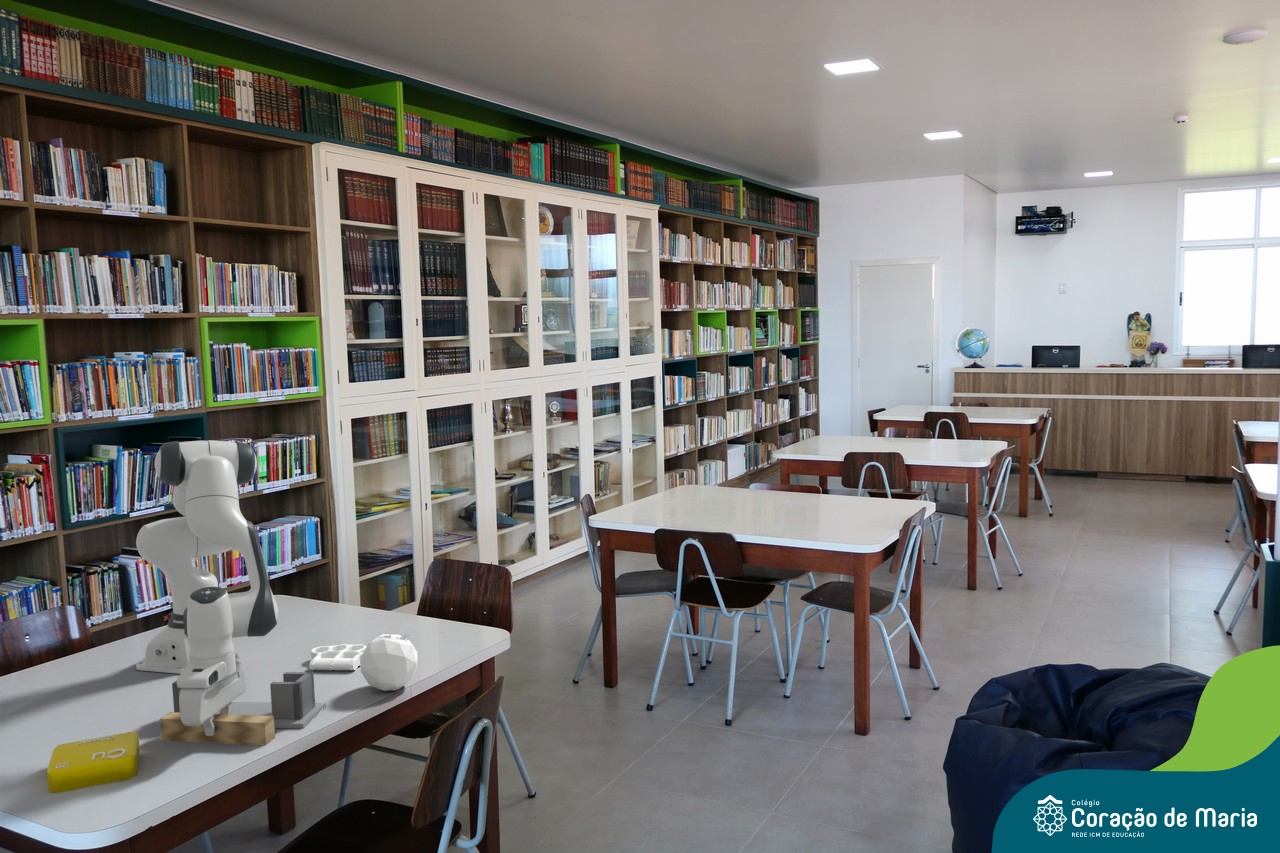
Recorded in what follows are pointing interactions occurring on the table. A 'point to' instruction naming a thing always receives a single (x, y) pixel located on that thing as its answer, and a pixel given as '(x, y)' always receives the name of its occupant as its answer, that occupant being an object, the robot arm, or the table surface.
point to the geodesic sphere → (389, 662)
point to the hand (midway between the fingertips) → (217, 729)
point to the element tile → (93, 762)
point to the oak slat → (220, 729)
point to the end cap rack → (279, 701)
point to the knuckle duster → (336, 657)
